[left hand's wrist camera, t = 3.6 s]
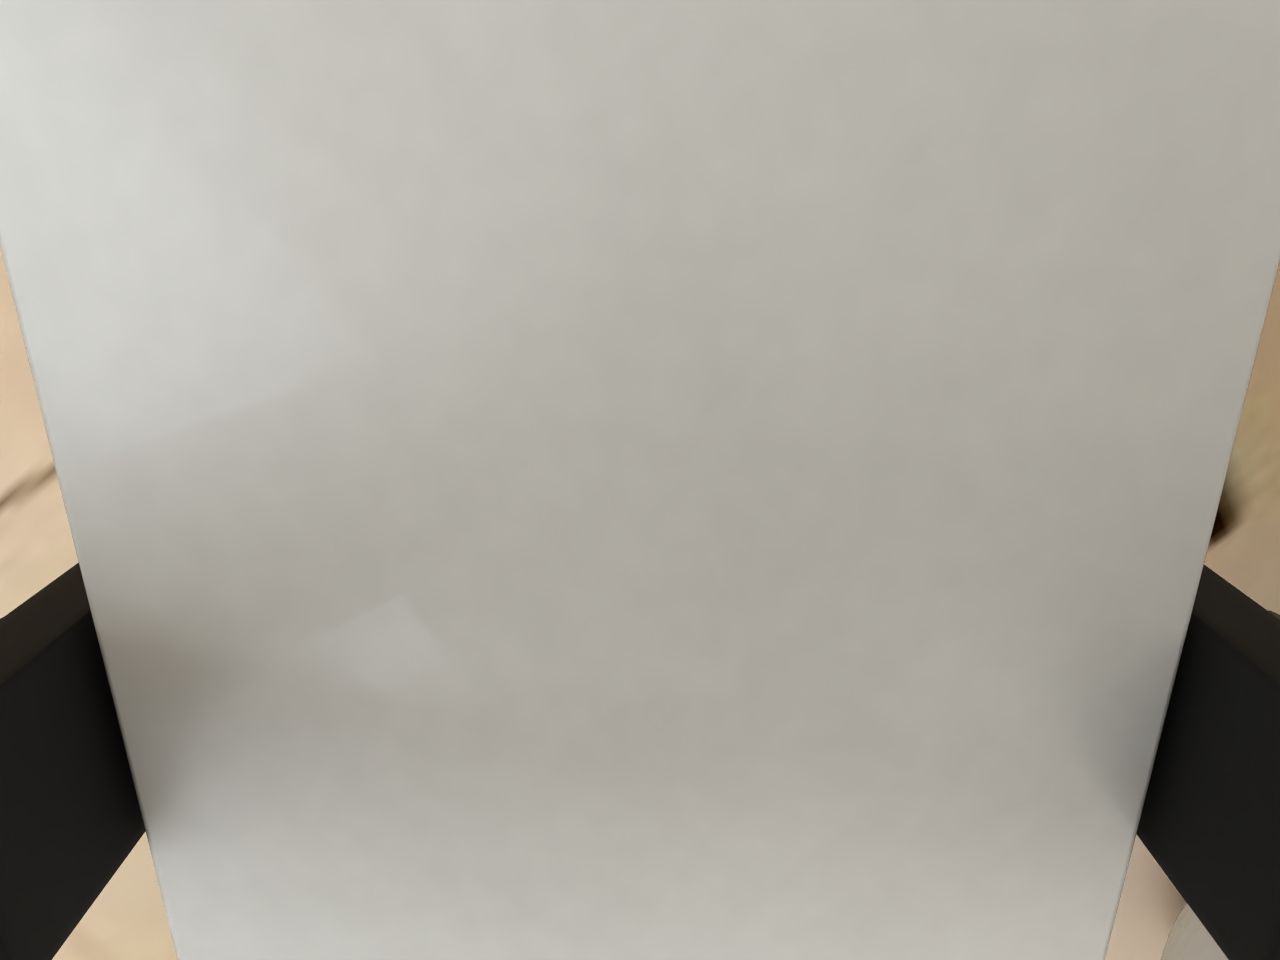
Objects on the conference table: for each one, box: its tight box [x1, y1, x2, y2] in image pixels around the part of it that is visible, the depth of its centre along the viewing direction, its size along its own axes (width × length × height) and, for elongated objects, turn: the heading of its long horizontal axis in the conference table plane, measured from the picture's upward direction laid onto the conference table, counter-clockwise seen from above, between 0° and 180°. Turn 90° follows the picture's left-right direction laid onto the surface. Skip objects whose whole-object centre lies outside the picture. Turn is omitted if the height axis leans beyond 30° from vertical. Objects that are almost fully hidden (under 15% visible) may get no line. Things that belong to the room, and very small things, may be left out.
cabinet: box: [0, 0, 1280, 960], centre depth 12 cm, size 17×10×11 cm, turn 0°
